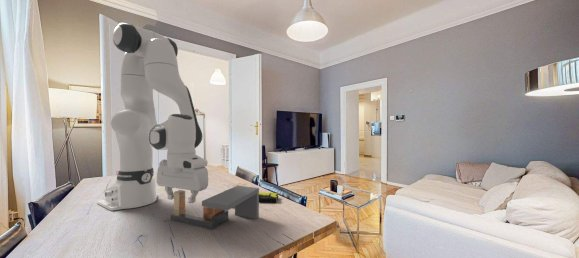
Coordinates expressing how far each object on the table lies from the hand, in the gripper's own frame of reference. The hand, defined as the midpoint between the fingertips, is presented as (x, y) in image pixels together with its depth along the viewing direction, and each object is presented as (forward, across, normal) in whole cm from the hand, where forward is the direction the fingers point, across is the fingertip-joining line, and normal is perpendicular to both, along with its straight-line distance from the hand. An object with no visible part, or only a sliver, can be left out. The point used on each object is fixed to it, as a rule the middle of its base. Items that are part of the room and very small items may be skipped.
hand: (181, 200), depth 73 cm
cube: (+7, +10, +4) cm, 13 cm away
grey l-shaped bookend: (+7, +20, +2) cm, 21 cm away
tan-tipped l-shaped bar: (+7, +6, +2) cm, 9 cm away
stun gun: (+7, +15, +24) cm, 29 cm away
